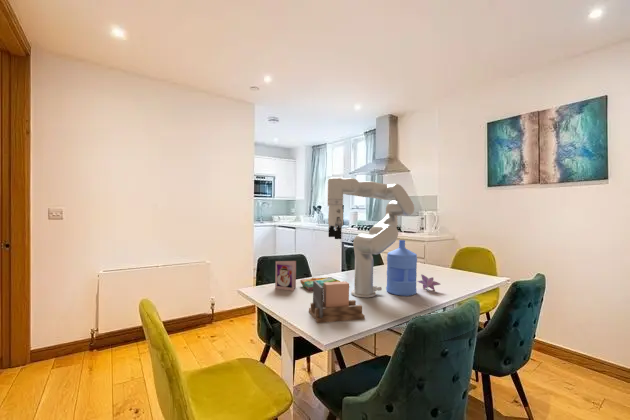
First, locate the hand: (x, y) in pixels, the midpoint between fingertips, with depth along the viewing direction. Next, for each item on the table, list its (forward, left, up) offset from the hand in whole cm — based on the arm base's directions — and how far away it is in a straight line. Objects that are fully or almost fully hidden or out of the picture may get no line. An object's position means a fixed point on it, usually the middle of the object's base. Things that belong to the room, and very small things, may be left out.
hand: (334, 237), depth 153 cm
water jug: (-40, -5, -31) cm, 51 cm away
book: (+6, +21, -29) cm, 36 cm away
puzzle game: (0, -24, -31) cm, 39 cm away
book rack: (+6, +21, -30) cm, 37 cm away
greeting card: (+19, -25, -31) cm, 44 cm away
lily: (-56, -4, -31) cm, 64 cm away
